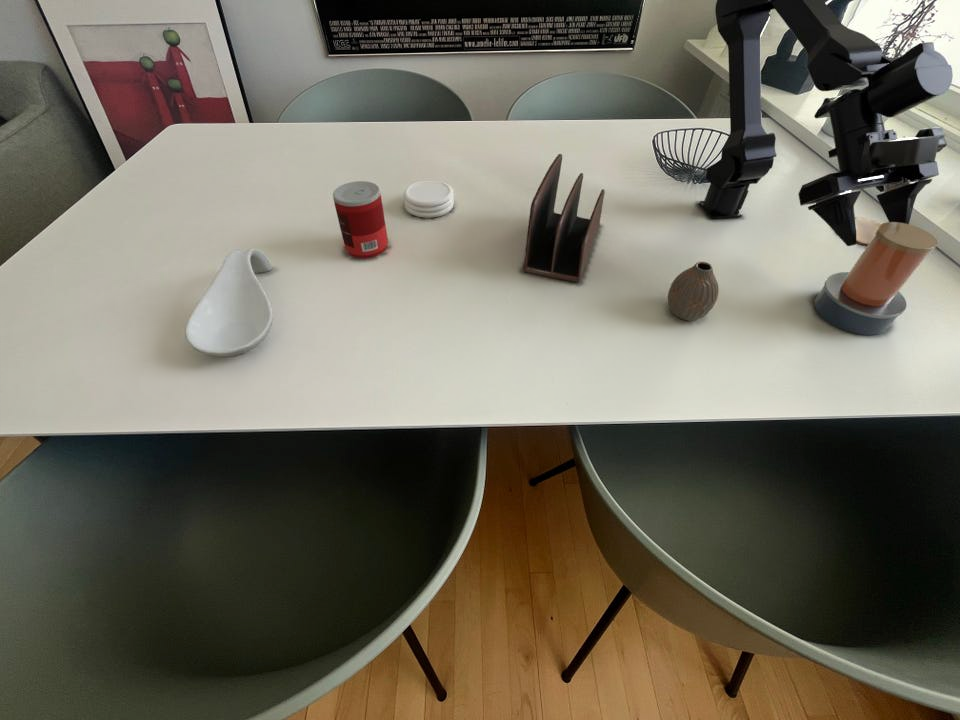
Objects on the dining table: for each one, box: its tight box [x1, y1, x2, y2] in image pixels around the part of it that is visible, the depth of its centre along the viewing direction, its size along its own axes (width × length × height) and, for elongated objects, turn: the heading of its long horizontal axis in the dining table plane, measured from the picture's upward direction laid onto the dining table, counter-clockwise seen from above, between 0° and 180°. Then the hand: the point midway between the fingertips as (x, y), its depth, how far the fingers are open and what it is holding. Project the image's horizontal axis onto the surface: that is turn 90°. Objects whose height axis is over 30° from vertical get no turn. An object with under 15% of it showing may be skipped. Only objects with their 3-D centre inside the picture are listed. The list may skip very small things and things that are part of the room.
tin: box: [813, 271, 907, 336], centre depth 74 cm, size 11×11×4 cm
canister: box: [841, 221, 938, 306], centre depth 69 cm, size 7×7×10 cm
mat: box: [855, 217, 882, 247], centre depth 92 cm, size 10×10×1 cm
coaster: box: [403, 179, 455, 219], centre depth 98 cm, size 10×10×4 cm
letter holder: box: [522, 153, 606, 283], centre depth 83 cm, size 10×20×14 cm, turn 160°
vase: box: [667, 261, 720, 321], centre depth 73 cm, size 7×7×9 cm
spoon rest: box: [184, 248, 274, 357], centre depth 73 cm, size 24×12×7 cm, turn 9°
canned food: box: [332, 180, 389, 260], centre depth 84 cm, size 8×8×11 cm
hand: (877, 240), depth 70 cm, fingers open, 9 cm apart
